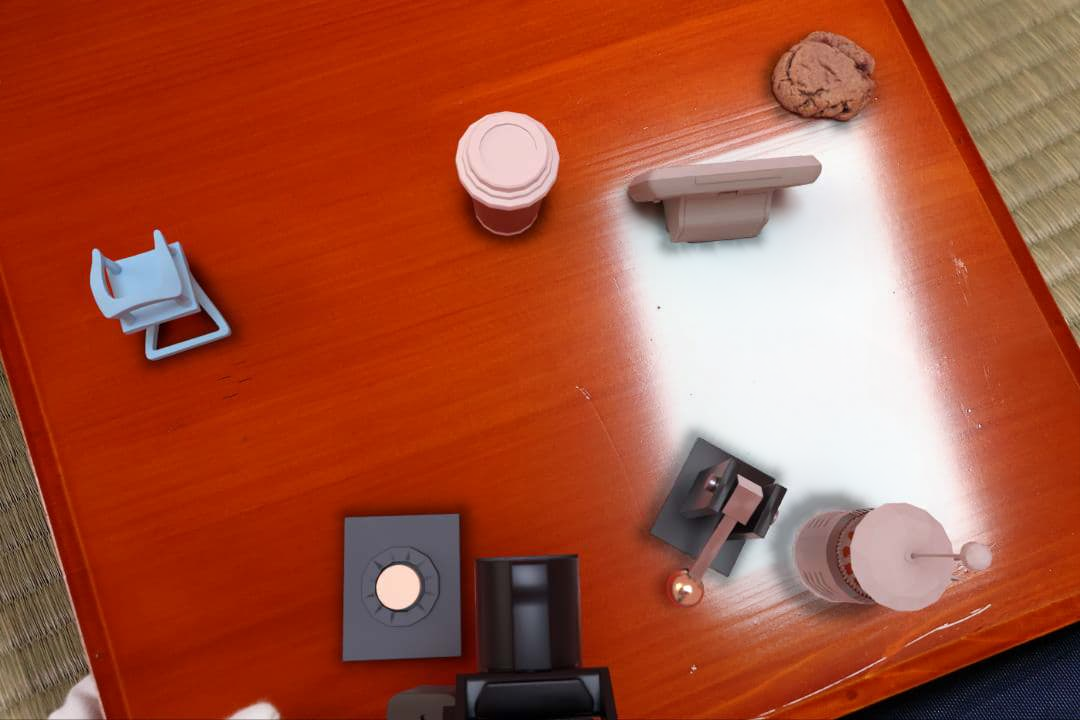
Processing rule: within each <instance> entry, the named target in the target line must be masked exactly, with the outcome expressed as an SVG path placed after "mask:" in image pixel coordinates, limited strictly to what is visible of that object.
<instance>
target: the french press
mask: <svg viewBox="0 0 1080 720" xmlns="http://www.w3.org/2000/svg"><path fill="white" fill-rule="evenodd" d="M953 549H954V548H953V543H952V542H951V539H950V538H949V536H948V534H947V532H946V530H945V528H944V527H943V525H942V523H941V522H940V521H938V520H937V519H936V518H935V517H934V516H933V515H932V514H930V512H928V511H927V510H926V509H923V508H921V507H918V506H915V505H913V504H911V503H908V502H886V503H883V504H882V505H880V506H878V507H876V508H875V507H865V508H858V509H856V508H855V509H849V510H822V511H821V512H820V511H819V512H818V513H816V514H814V515H812V516H809V517H808V518H807V519H806V520H805V521H804V522H803V523H802V524H801V526H800V527H799V528H798V529H797V531H796V533H795V536H794V540H793V542H792V547H791V552H792V562H793V568H794V570H795V572H796V574H797V576H798V578H799V580H800V582H801V584H802V585H803V586H805V588H806V589H808V590H809V591H810V593H812V594H813V595H814V596H815V597H817V598H820V599H823V600H826V601H828V602H831V603H853V604H860V605H881V606H883V607H886V608H889V609H891V610H893V611H896V612H917V611H921V610H922V609H924V608H926V607H929V606H931V605H933V604H935V603H937V601H938V600H939V599H940V598H941V596H942V595H943V594H944V593H945V591H946V590H947V589H948V588H949V586H950V585H951V582H960V581H962V579H961V577H960V576H957V575H954V574H953V573H954V569H955V562H961V563H962V564H963V567H964V568H966V569H968V570H970V571H973V572H974V571H985V570H986V569H988V568H989V567H991V564H992V561H993V553H992V551H991V550H990V548H989V546H988V545H986V544H984V543H982V542H980V541H977V540H974V541H969V542H966V543H964V544H963V545H962V546H961V548H960V552H959V553H954V550H953Z"/></svg>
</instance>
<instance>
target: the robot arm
mask: <svg viewBox="0 0 1080 720" xmlns="http://www.w3.org/2000/svg"><path fill="white" fill-rule="evenodd" d="M579 559H580V557H579V553H573V554H571V553H567V554H566V553H565V554H544V555H523V556H522V555H520V556H519V555H517V556H516V555H515V556H496V557H495V556H493V557H492V556H491V557H474V560H473V561H474V600H475V601H474V602H475V604H474V605H475V606H474V607H475V648H476V649H475V651H476V652H475V653H476V657H475V658H476V672H458V673H457V672H456V674H455V685H428V684H420V685H417V686H415V687H411V688H408V689H406V690H402V691H401V692H398V693H395V694H394V695H392V696H391V697H390V698H389V700H388V702H387V704H386V720H594V719H600V720H619V716H618V711H617V706H616V701H615V695H614V690H613V689H614V688H613V684H612V678H611V673H610V668H609V666H608V665H607V666H606V665H605V666H588V667H587V666H585V667H584V649H583V645H584V644H583V627H582V626H583V625H582V606H581V605H582V603H581V581H580V565H579V564H580V560H579Z"/></svg>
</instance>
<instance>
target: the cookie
mask: <svg viewBox="0 0 1080 720" xmlns="http://www.w3.org/2000/svg"><path fill="white" fill-rule="evenodd" d="M875 67H876V60H875V59H874V58H873V56H872V55H871V54H870V53H868V51H866V50H865V49H863V48H862V47H861V46H859V45H857V44H856V42H854V41H852V40H851V39H849V38H847V37H846V36H843V35H841V34H837V33H833V32H827V31H824V30H823V31H819V30H816V31H812V32H811V33H810V34H809V35H808V36H807V37H805V38H804V39H802V40H800V41H799V43H797V44H793V46H791V47H790V49H789V51H787V52H784V53H783V54H782V55H781V57H780V59H779V60H778V62H777V64H776V66H775V68H774V69H773V72H772V75H771V78H770V79H771V80H770V81H771V83H772V92H773V94H774V97H776V99H777V101H778V102H779V103H780V104H781V105H782V107H783V108H784V109H786V110H788V111H790V112H794V113H797V114H798V113H799V114H801V116H802V117H806V118H809V117H811V116H812V117H813V118H816V117H817V118H819V117H823V118H824V117H830V118H832V117H834V118H835V119H837V120H840V121H848V120H851V119H852V118H853V117H854V116H856V115H858V114H859V113H860V112H861V111H862V110H863V109H864V108H865V107H866V106H867V105H868V104H869V102H870V100H871V96H872V94H873V91H874V89H875V87H876V82H875V80H873V79H871V78H870V76H871V75H873V73H874V71H875Z"/></svg>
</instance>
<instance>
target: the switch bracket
mask: <svg viewBox="0 0 1080 720" xmlns="http://www.w3.org/2000/svg"><path fill="white" fill-rule="evenodd" d="M737 475H740V476H742V477H744V478H746V479H747V480H749V481H751V482H753V483H755V484H756V485H758V486H760V487H761V489H762V493H763V499H762V500H761V502H760V503H759V505H758V506H757V508H756V510H755V511H754V513H753V514H752V516H751V517H750V519H749V521H748V522H747V524H746V525H744V524H742V523H740V522H738V521H737V523H736V524H735V526H734V528H733V529H732V531H731V532H730V534H729V535H728V537H727V539H726V540H725V542H724V543H723V545H722V547H721V548H720V550H719V551H718V553H717V555H716V556H715V558H714V559H713V561H712V563H711V564H710V566H709V567H708V568H710V569H711V570H713V571H715V572H717V573H719V574H721V576H724V577H726V578H729V577H730V575H731V573H732V571H733V568H734V566H735V564H736V562H737V560H738V559H739V556H740V554H741V552H742V550H743V548H744V546H745V544H746V542H747V541H748V540H761V539H762V540H763V539H765V537H766V536H767V533H768V531H769V529H770V527H771V526H772V525H773V524H775V522H776V521H777V518H778V517H779V514H780V510H779V508H780V506H781V504H782V502H783V500H784V498H785V496H786V493H787V492H788V488H786V487H785V486H783V485H781V484H779V483H777V482H776V478H775V477H772V476H770V475H769V474H767V473H766V472H764V471H762V470H760V469H758V468H757V467H755V466H752V464H749V463H747V462H745V461H744V460H742V459H740V458H738V457H736V456H735V455H733V454H731V453H729V452H728V451H725V450H723V449H722V448H720V447H718V446H716V445H714V444H713V443H711V442H709V441H707V440H706V439H704V438H702V437H700V436H698V437H696V440H695V442H694V444H693V446H692V447H691V449H690V451H689V454H688V456H687V457H686V459H685V461H684V462H683V465H682V467H681V468H680V471H679V473H678V475H677V477H676V478H675V481H674V483H673V484H672V486H671V489H670V490H669V492H668V494H667V496H666V498H665V500H664V502H663V504H662V506H661V508H660V510H659V512H658V514H657V516H656V518H655V520H654V522H653V523H652V526H651V528H650V529H649V531H648V534H649V535H651V536H653V537H655V538H656V539H658V540H660V541H662V542H663V543H666V544H667V545H668V546H670V547H672V548H674V549H676V550H678V551H679V552H681V553H682V554H684V555H686V556H689V557H690V558H692V559H694V560H695V558H696V556H697V555H698V553H699V552H700V550H701V548H702V547H703V545H704V543H705V542H706V540H707V539H708V537H709V535H710V534H711V532H712V531H713V529H714V527H715V526H716V524H717V523H718V521H719V519H720V518H721V516H722V515H723V513H722V512H721V507H722V505H723V503H724V501H725V499H726V497H727V495H728V493H729V491H730V489H731V487H732V485H733V483H734V481H735V479H736V477H737ZM775 482H776V483H775Z"/></svg>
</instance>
